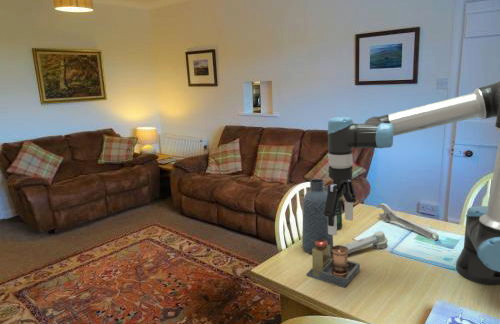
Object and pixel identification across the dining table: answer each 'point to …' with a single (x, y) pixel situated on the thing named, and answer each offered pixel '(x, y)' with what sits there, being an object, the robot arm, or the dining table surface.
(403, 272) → the dining table surface
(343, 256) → the cylinder
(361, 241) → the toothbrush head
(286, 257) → the dining table surface
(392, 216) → the wrench
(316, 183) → the vase
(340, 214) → the coffee jar
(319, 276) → the fitting base
